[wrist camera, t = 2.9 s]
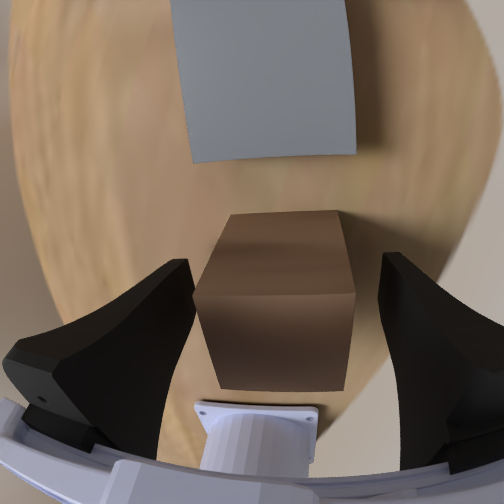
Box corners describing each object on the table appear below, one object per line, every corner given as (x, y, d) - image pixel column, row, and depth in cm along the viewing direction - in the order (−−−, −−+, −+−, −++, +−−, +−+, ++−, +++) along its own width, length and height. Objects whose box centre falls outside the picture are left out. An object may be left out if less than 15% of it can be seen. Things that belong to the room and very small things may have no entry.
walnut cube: (335, 295, 13) (343, 391, 9) (244, 297, 14) (220, 388, 10) (337, 209, 11) (355, 293, 7) (231, 214, 12) (192, 295, 8)
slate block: (347, 141, 10) (356, 154, 9) (210, 149, 11) (193, 163, 10) (328, -39, 7) (333, -60, 5) (187, -23, 8) (166, -38, 6)
